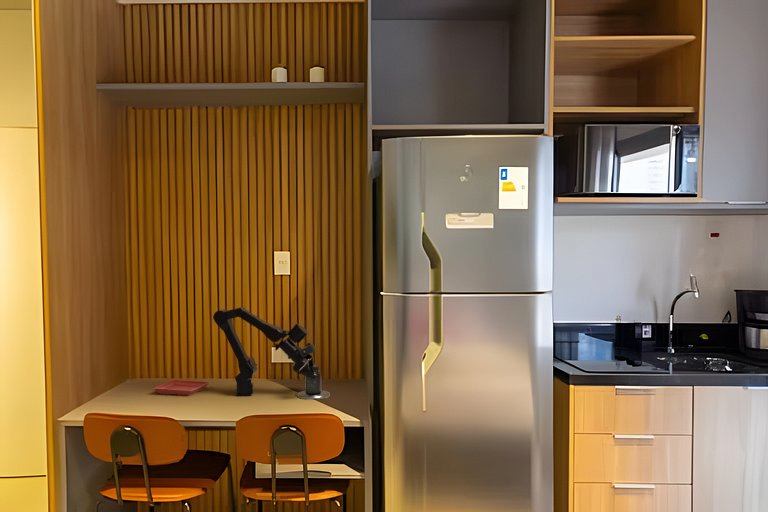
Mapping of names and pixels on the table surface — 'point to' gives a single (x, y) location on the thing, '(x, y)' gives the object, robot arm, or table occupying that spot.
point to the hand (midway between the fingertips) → (316, 376)
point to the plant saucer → (181, 387)
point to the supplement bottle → (313, 382)
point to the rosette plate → (321, 396)
